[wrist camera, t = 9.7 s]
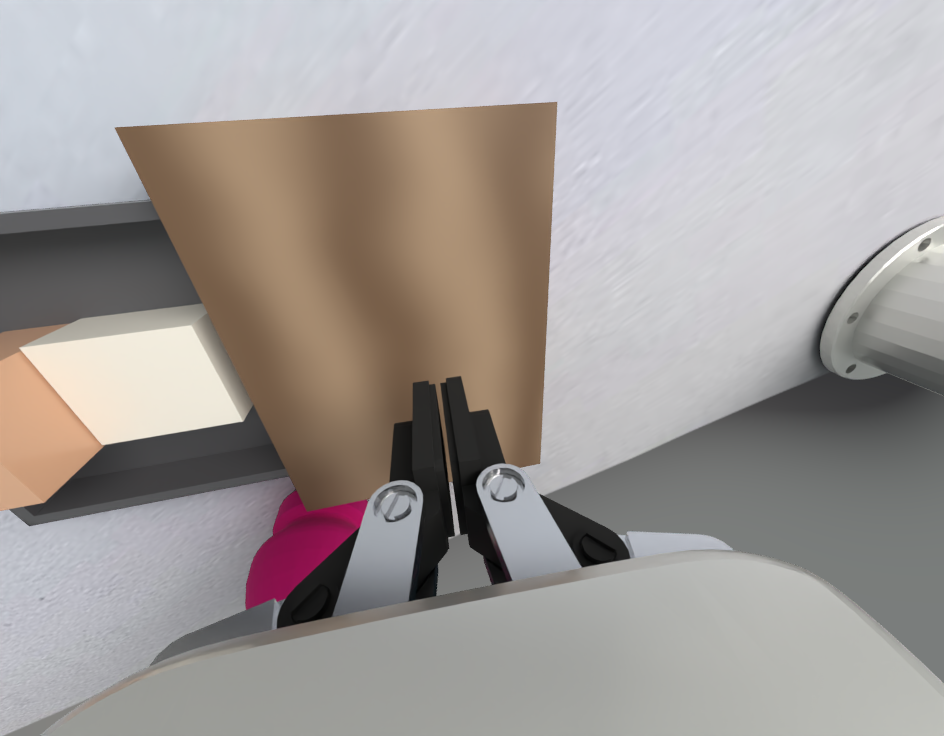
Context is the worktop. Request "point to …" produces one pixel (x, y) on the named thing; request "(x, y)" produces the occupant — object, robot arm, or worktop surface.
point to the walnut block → (366, 271)
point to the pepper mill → (298, 546)
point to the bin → (107, 293)
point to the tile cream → (142, 373)
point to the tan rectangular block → (35, 428)
